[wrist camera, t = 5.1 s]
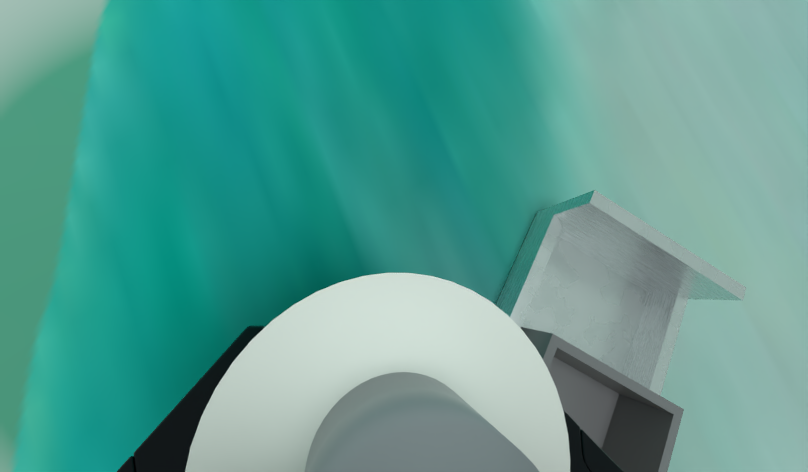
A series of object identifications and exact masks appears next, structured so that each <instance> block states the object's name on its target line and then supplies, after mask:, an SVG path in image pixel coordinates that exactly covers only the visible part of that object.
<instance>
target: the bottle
mask: <svg viewBox="0 0 808 472" xmlns="http://www.w3.org/2000/svg"><path fill="white" fill-rule="evenodd" d="M185 472H570V450H569V438H568V432H567V426H566V421H565V416H564V411H563V408H562V405H561V401H560V398H559V395H558V392H557V389H556V386H555V384H554V382H553V379H552V377H551V375H550V372H549V370H548V368H547V366H546V364H545V363H544V361H543V359H542V358H541V356H540V354H539V352H538V351H537V349H536V347H535V346H534V345H533V344H532V342H531V341H530V340H529V338H528V337H527V336H526V334H525V333H524V332H523V330H522V329H521V328H520V327H519V326H518V325H517V324H516V323H515V322H514V321H513V320H512V319H511V318H510V317H509V316H508V315H507V314H506V313H504V312H503V311H502V310H501V309H499V308H498V307H497V306H496V305H494V304H493V303H492V302H491V301H489V300H487V299H486V298H484V297H482V296H481V295H479V294H477V293H476V292H474V291H472V290H470V289H468V288H465V287H463V286H461V285H458V284H456V283H454V282H451V281H447V280H444V279H440V278H437V277H433V276H428V275H420V274H413V273H382V274H375V275H367V276H362V277H358V278H354V279H350V280H346V281H343V282H339V283H337V284H334V285H332V286H330V287H327V288H325V289H322V290H320V291H317V292H315V293H314V294H312V295H310V296H308V297H307V298H305V299H303V300H301V301H299V302H298V303H296V304H294V305H293V306H291V307H290V308H289V309H287V310H286V311H285V312H283V313H282V314H280V315H279V316H278V317H276V318H275V319H274V320H272V321H271V322H270V323H269V324H268V325H267V326H266V327H265V328H264V329H263V330H262V331H261V332H259V333H258V334H257V335H256V336H255V337H254V338H253V339H252V340H251V341H250V342H249V343H248V345H247V346H246V347H245V348H244V349H243V351H242V352H241V353H240V354H239V355H238V357H237V358H236V359H235V360H234V361H233V363H232V364H231V365H230V367H229V369H228V370H227V372H226V373H225V375H224V376H223V378H222V379H221V381H220V382H219V384H218V385H217V387H216V388H215V390H214V392H213V394H212V396H211V398H210V400H209V402H208V404H207V406H206V408H205V410H204V412H203V414H202V416H201V419H200V422H199V425H198V427H197V430H196V433H195V436H194V439H193V441H192V444H191V447H190V452H189V456H188V461H187V465H186V469H185Z"/></svg>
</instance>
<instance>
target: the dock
mask: <svg viewBox="0 0 808 472" xmlns="http://www.w3.org/2000/svg"><path fill="white" fill-rule="evenodd" d="M745 290H746V287H745V286H743V285H742V284H740V283H738V282H737V281H735V280H734V279H732V278H731V277H729V276H728V275H726V274H724V273H723V272H721V271H720V270H718V269H717V268H715V267H714V266H712V265H710V264H709V263H707V262H706V261H704V260H703V259H701V258H700V257H698V256H696V255H695V254H693V253H692V252H690V251H689V250H687V249H686V248H684V247H682V246H681V245H679V244H678V243H676V242H675V241H673V240H672V239H670V238H668V237H667V236H665V235H664V234H662V233H661V232H659V231H658V230H656V229H654V228H653V227H651V226H650V225H648V224H647V223H645V222H644V221H642V220H640V219H639V218H637V217H636V216H634V215H633V214H631V213H630V212H628V211H626V210H625V209H623V208H622V207H620V206H619V205H617V204H616V203H614V202H612V201H611V200H609V199H608V198H606V197H605V196H603V195H602V194H600V193H598V192H597V191H595V190H594V191H591V192H588V193H586V194H583V195H581V196H578V197H575V198H573V199H570V200H568V201H565V202H562V203H560V204H557V205H555V206H552V207H549V208H547V209H544V210H541V211H539V212H537V213H536V215H535V218H534V220H533V222H532V224H531V227H530V229H529V231H528V233H527V236H526V238H525V240H524V242H523V245H522V247H521V249H520V251H519V254H518V256H517V258H516V260H515V263H514V265H513V267H512V269H511V272H510V274H509V276H508V278H507V281H506V283H505V285H504V287H503V289H502V292H501V294H500V296H499V298H498V301H497V303H496V306H497V307H498V308H499V309H501V310H502V311H503V312H504V313H506V314H507V315H508V316H509V317H510V318H511V319H512V320H513V321H514V322H515V323H516V324H517V325H518V326H519V327H520V328H521V327H524V328H529V329H534V330H538V331H543V332H548V333H552V334H554V335H556V336H558V337H560V338H561V339H563V340H565V341H566V342H568V343H570V344H572V345H573V346H575V347H577V348H579V349H580V350H582V351H584V352H585V353H587V354H589V355H591V356H592V357H594V358H596V359H597V360H599V361H601V362H603V363H604V364H606V365H608V366H610V367H611V368H613V369H615V370H616V371H618V372H620V373H622V374H623V375H625V376H627V377H628V378H630V379H632V380H634V381H635V382H637V383H639V384H641V385H642V386H644V387H646V388H647V389H649V390H651V391H653V392H654V393H656V394H658V395H661V391H662V388H663V384H664V381H665V377H666V374H667V370H668V367H669V363H670V360H671V356H672V353H673V349H674V346H675V342H676V339H677V335H678V332H679V328H680V325H681V321H682V318H683V314H684V311H685V307H686V304H687V301H688V299H713V300H743V298H744V294H745Z"/></svg>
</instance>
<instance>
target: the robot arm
mask: <svg viewBox="0 0 808 472" xmlns="http://www.w3.org/2000/svg"><path fill="white" fill-rule="evenodd" d="M264 328H265V327H264V326H249V327H247V328H246V329H245V330H244V331H243V332H242V333H241V335H240V336H239V337H238V338H237V339H236V340H235V341H234V342H233V343H232V345H231V346H230V347H229V348H228V349H227V350H226V351H225V352H224V353H223V355H222V356H221V357H220V358H219V359H218V360H217V361H216V362H215V363H214V365H213V366H212V367H211V368H210V369H209V370H208V371H207V372H206V373H205V375H204V376H203V377H202V378H201V379H200V380H199V381H198V382H197V383H196V384H195V386H194V387H193V388H192V389H191V390H190V391H189V392H188V393H187V394H186V396H185V397H184V398H183V399H182V400H181V401H180V402H179V403H178V404H177V406H176V407H175V408H174V409H173V410H172V411H171V412H170V413H169V414H168V416H167V417H166V418H165V419H164V420H163V421H162V422H161V423H160V424H159V426H158V427H157V428H156V429H155V430H154V431H153V432H152V433H151V434H150V436H149V437H148V438H147V439H146V440H145V441H144V442H143V443H142V444H141V446H140V447H139V448H138V449H137V450H136V451H135V452H134V456H131V457H129V459H128V460H127V461H126V462H125V463H124V464H123V465H122V466H121V467H120V469H119V470H118V471H117V472H185V469H186V465H187V461H188V456H189V452H190V447H191V444H192V441H193V439H194V436H195V433H196V430H197V427H198V425H199V422H200V419H201V416H202V414H203V412H204V410H205V408H206V406H207V404H208V402H209V400H210V398H211V396H212V394H213V392H214V390H215V388H216V387H217V385H218V384H219V382H220V381H221V379H222V378H223V376H224V375H225V373H226V372H227V370H228V369H229V367H230V365H231V364H232V363H233V361H234V360H235V359H236V358H237V357H238V355H239V354H240V353H241V352H242V351H243V349H244V348H245V347H246V346H247V345H248V343H249V342H250V341H251V340H252V339H253V338H254V337H255V336H256V335H257V334H258V333H259V332H261V331H262V330H263V329H264ZM563 411H564V410H563ZM564 416H565V421H566V426H567V432H568V438H569V450H570V472H624V471H623V470H622V469H621V468H620V467H619V466H618V465H617V464H616V463H615V462H614V461H613V460H612V459H611V458H610V457H609V456H608V455H607V454H606V453H605V452H604V451H603V450H602V449H601V448H600V447H599V446H598V445H597V444H596V443H595V442H594V441H593V440H592V439H591V438H590V437H589V436H588V435H587V434H586V433H585V432H584V431H583V430H582V429H580V427H579V425H578V424H577V423H576V422H575V421H574V420H573V419H572V418H571V417H570V416H569V415H568V414H567V413H566V412H565V411H564Z"/></svg>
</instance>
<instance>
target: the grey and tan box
mask: <svg viewBox="0 0 808 472" xmlns="http://www.w3.org/2000/svg"><path fill="white" fill-rule="evenodd" d="M521 329H522V330H523V332H524V333H525V334H526V336H527V337H528V338H529V340H530V341H531V342H532V344H533V345H534V346H535V347H536V349H537V351H538V352H539V354H540V356H541V358H542V359H543V361H544V363H545V364H546V366H547V368H548V370H549V372H550V375H551V377H552V379H553V382H554V384H555V386H556V389H557V392H558V395H559V398H560V401H561V405H562V408H563V410H564V411H565V412H566V413H567V414H568V415H569V416H570V417H571V418H572V419H573V420H574V421H575V422H576V423H577V424H578V425H579V427H580V429H582V430H583V431H584V432H585V433H586V434H587V435H588V436H589V437H590V438H591V439H592V440H593V441H594V442H595V443H596V444H597V445H598V446H599V447H600V448H601V449H602V450H603V451H604V452H605V453H606V454H607V455H608V456H609V457H610V458H611V459H612V460H613V461H614V462H615V463H616V464H617V465H618V466H619V467H620V468H621V469H622V470H623V471H624V472H667V470H668V467H669V463H670V459H671V455H672V452H673V448H674V444H675V440H676V436H677V433H678V429H679V425H680V421H681V418H682V414H683V410H684V409H682V408H680V407H678V406H677V405H675V404H673V403H672V402H670V401H668V400H666V399H665V398H663V397H661V396H660V395H658V394H656V393H654V392H653V391H651V390H649V389H647V388H646V387H644V386H642V385H641V384H639V383H637V382H635V381H634V380H632V379H630V378H628V377H627V376H625V375H623V374H622V373H620V372H618V371H616V370H615V369H613V368H611V367H610V366H608V365H606V364H604V363H603V362H601V361H599V360H597V359H596V358H594V357H592V356H591V355H589V354H587V353H585V352H584V351H582V350H580V349H579V348H577V347H575V346H573V345H572V344H570V343H568V342H566V341H565V340H563V339H561V338H560V337H558V336H556V335H554V334H552V333H548V332H543V331H538V330H534V329H529V328H524V327H521Z"/></svg>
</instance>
